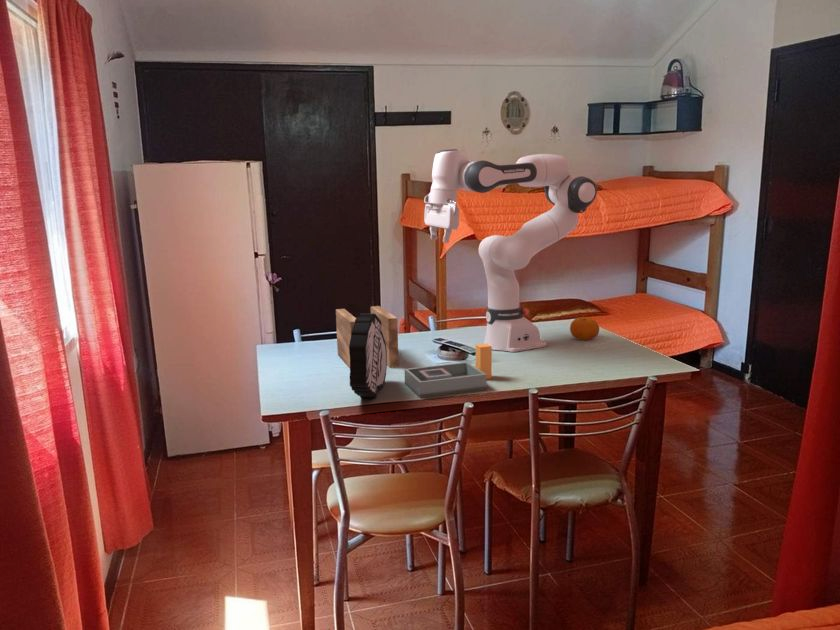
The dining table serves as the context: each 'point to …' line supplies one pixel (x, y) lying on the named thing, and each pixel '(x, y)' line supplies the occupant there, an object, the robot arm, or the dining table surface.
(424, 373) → the socket
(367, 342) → the wall sign
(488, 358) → the orange rectangular block
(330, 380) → the dining table surface
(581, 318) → the fruit
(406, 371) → the bin
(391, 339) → the bookends
